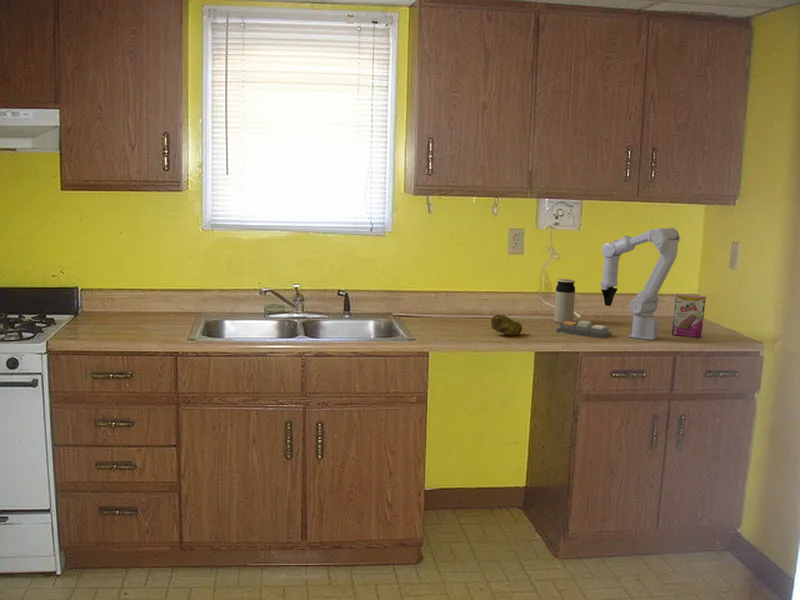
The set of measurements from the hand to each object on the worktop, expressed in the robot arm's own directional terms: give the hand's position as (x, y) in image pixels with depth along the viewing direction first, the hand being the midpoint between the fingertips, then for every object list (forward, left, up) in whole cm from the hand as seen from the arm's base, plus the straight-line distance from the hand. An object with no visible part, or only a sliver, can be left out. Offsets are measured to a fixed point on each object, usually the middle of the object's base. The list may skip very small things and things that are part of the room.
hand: (608, 305), depth 334 cm
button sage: (+5, +14, -7) cm, 16 cm away
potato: (+27, +38, -10) cm, 48 cm away
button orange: (+10, +14, -8) cm, 19 cm away
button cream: (-2, +14, -8) cm, 16 cm away
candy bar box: (-30, -9, -10) cm, 33 cm away
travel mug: (+20, -4, -10) cm, 23 cm away
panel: (+4, +14, -10) cm, 18 cm away
